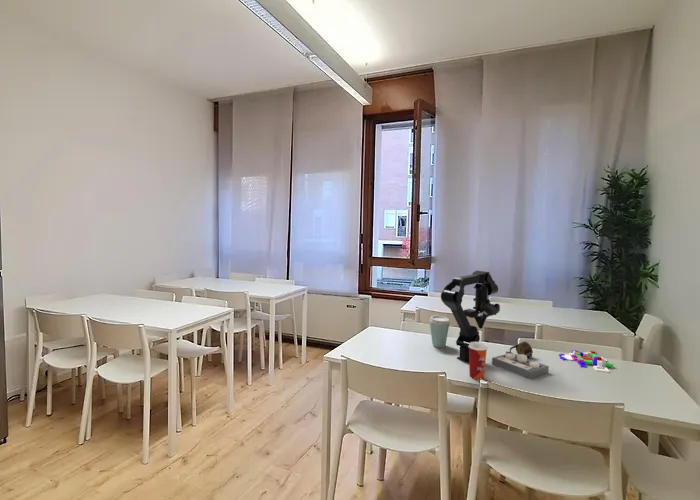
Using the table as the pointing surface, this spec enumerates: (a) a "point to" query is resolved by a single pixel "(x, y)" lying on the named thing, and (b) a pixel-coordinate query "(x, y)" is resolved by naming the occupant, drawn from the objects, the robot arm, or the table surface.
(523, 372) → the button panel
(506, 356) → the button
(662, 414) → the table surface
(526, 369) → the pattern card
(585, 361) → the building block set
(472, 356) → the paper cup
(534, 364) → the button
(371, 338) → the table surface
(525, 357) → the button middle
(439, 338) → the disposable coffee cup
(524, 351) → the brown mug
